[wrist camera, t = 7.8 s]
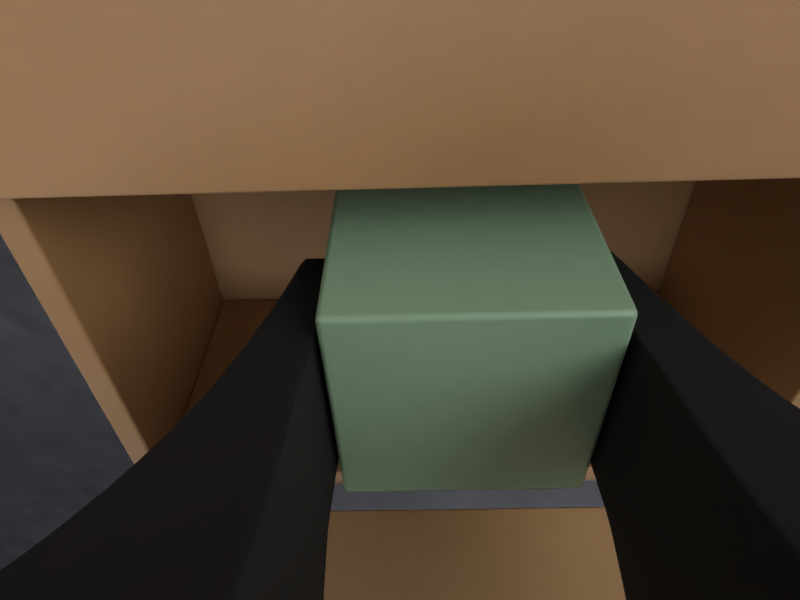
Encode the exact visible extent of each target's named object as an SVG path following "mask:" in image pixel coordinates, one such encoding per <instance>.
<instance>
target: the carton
mask: <svg viewBox="0 0 800 600" xmlns="http://www.w3.org/2000/svg"><path fill="white" fill-rule="evenodd" d="M556 184H579V185H580V187H581V189H582V191H583V194H584V196H585V198H586V200H587V202H588V205H589V207H590V209H591V211H592V213H593V215H594V218H595V220H596V222H597V224H598V226H599V228H600V231H601V233H602V235H603V237H604V239H605V241H606V244H607V246H608V248H609V250H610V251H611V252H613V253H614V254H615V255H616V256H617V257H618V258H619V259H620V260H622V261H623V262H624V263H625V264H626V265H627V266H628V267H629V268H630V269H631V270H632V271H633V272H634V273H635V274H637V275H638V276H639V277H640V278H641V279H642V280H643V281H644V282H645V283H646V284H647V285H648V286H649V287H650V288H651V289H653V290H654V291H655V292H656V293H657V294H658V295H659V296H660V297H661V298H662V299H663V300H664V301H665V302H667V303H668V304H669V305H670V306H671V307H672V308H673V309H674V310H675V311H676V312H678V313H679V314H680V315H681V316H682V317H683V318H684V319H685V320H687V321H688V322H689V323H690V324H691V325H692V326H693V327H695V328H696V329H697V330H698V331H699V332H700V333H701V334H703V335H704V336H705V337H706V338H707V339H709V340H710V341H711V342H712V343H713V344H715V345H716V346H717V347H718V348H719V349H721V350H722V351H723V352H724V353H726V354H727V355H728V356H729V357H731V358H732V359H733V360H734V361H736V362H737V363H738V364H739V365H741V366H742V367H743V368H745V369H746V370H747V371H748V372H750V373H751V374H752V375H753V376H755V377H756V378H757V379H759V380H760V381H761V382H763V383H764V384H765V385H767V386H768V387H769V388H771V389H772V390H774V391H775V392H776V393H778V394H779V395H781V396H782V397H783V398H785V399H786V400H788V401H789V402H791V403H792V404H794V405H795V406H797V407H798V408H799V409H800V0H0V234H1V236H2V238H3V239H4V241H5V243H6V245H7V246H8V248H9V250H10V251H11V253H12V255H13V257H14V258H15V260H16V262H17V263H18V265H19V267H20V269H21V270H22V272H23V274H24V276H25V277H26V279H27V281H28V282H29V284H30V286H31V288H32V289H33V291H34V293H35V294H36V296H37V298H38V300H39V301H40V303H41V305H42V306H43V308H44V310H45V312H46V313H47V315H48V317H49V319H50V320H51V322H52V324H53V325H54V327H55V329H56V331H57V332H58V334H59V336H60V337H61V339H62V341H63V343H64V344H65V346H66V348H67V349H68V351H69V353H70V355H71V356H72V358H73V360H74V362H75V363H76V365H77V367H78V368H79V370H80V372H81V374H82V375H83V377H84V379H85V380H86V382H87V384H88V386H89V387H90V389H91V391H92V392H93V394H94V396H95V398H96V399H97V401H98V403H99V405H100V406H101V408H102V410H103V411H104V413H105V415H106V417H107V418H108V420H109V422H110V423H111V425H112V427H113V429H114V430H115V432H116V434H117V435H118V437H119V439H120V441H121V442H122V444H123V446H124V448H125V449H126V451H127V453H128V454H129V456H130V458H131V460H132V461H133V463H134V464H135V463H136V462H137V461H139V460H140V459H141V458H142V457H143V456H144V455H145V454H146V453H147V452H148V451H149V450H150V449H151V448H152V447H153V446H154V445H156V444H157V443H158V442H159V441H160V440H161V439H162V438H163V437H164V436H165V435H166V434H167V433H168V432H169V431H170V430H171V429H172V428H173V427H174V426H175V425H176V424H177V423H178V422H179V421H180V420H181V419H182V418H183V417H184V416H185V415H186V414H187V413H188V412H189V411H190V410H191V409H192V408H193V407H194V405H195V404H196V403H197V402H198V401H199V400H200V399H201V398H202V397H203V396H204V394H205V393H206V392H207V391H208V390H209V389H210V388H211V387H212V386H213V384H214V383H215V382H216V381H217V380H218V378H219V377H220V376H221V375H222V374H223V372H224V371H225V370H226V369H227V367H228V366H229V365H230V364H231V363H232V361H233V360H234V359H235V358H236V356H237V355H238V354H239V353H240V352H241V350H242V349H243V348H244V347H245V345H246V344H247V343H248V341H249V340H250V339H251V337H252V336H253V335H254V333H255V332H256V330H257V329H258V328H259V326H260V325H261V324H262V322H263V321H264V319H265V318H266V317H267V315H268V314H269V313H270V311H271V310H272V308H273V307H274V305H275V304H276V302H277V301H278V299H279V298H280V296H281V295H282V293H283V292H284V290H285V289H286V287H287V285H288V284H289V282H290V281H291V279H292V278H293V276H294V274H295V273H296V271H297V269H298V268H299V266H300V264H301V263H302V262H303V261H304V260H305V259H314V258H325V255H326V248H327V242H328V236H329V230H330V224H331V217H332V211H333V205H334V199H335V192H336V190H364V189H403V188H441V187H480V186H518V185H556ZM584 480H596V478H595V475H594V472H593V469H592V466H591V463H590V464H589V467H588V470H587V473H586V476H585V479H584ZM335 484H343V480H342V475H341V469H340V463H339V460H338V466H337V472H336V478H335Z"/></svg>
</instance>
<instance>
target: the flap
mask: <svg viewBox="0 0 800 600" xmlns="http://www.w3.org/2000/svg"><path fill="white" fill-rule="evenodd" d="M324 600H626V598H625V592H624V587H623V583H622V578H621V573H620V569H619V564H618V560H617V555H616V550H615V546H614V541H613V537H612V532H611V528H610V524H609V520H608V517H607V513H606V510H605V507H575V508H509V509H442V510H375V511H330V519H329V527H328V538H327V553H326V569H325V584H324Z"/></svg>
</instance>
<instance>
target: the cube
mask: <svg viewBox="0 0 800 600" xmlns="http://www.w3.org/2000/svg"><path fill="white" fill-rule="evenodd" d="M637 315H638V312H637V309H636V307H635V304H634V302H633V300H632V298H631V296H630V294H629V291H628V289H627V287H626V285H625V283H624V281H623V278H622V276H621V274H620V272H619V270H618V268H617V265H616V263H615V261H614V259H613V257H612V254H611V252H610V250H609V248H608V246H607V244H606V241H605V239H604V237H603V235H602V233H601V231H600V228H599V226H598V224H597V222H596V220H595V218H594V215H593V213H592V211H591V209H590V207H589V205H588V202H587V200H586V198H585V196H584V194H583V191H582V189H581V187H580V185H579V184H556V185H518V186H480V187H441V188H403V189H364V190H336V192H335V199H334V205H333V211H332V217H331V224H330V230H329V236H328V242H327V248H326V255H325V261H324V267H323V273H322V280H321V286H320V292H319V298H318V304H317V311H316V317H315V324H316V330H317V336H318V341H319V347H320V353H321V359H322V364H323V370H324V376H325V382H326V388H327V393H328V399H329V405H330V411H331V417H332V422H333V428H334V434H335V440H336V446H337V451H338V457H339V463H340V469H341V475H342V480H343V486H344V489H345V490H346V491H348V492H375V491H436V490H496V489H556V488H579V487H582V485H583V482H584V479H585V476H586V473H587V470H588V467H589V464H590V461H591V458H592V455H593V452H594V448H595V445H596V442H597V439H598V436H599V433H600V430H601V427H602V424H603V421H604V418H605V415H606V411H607V408H608V405H609V402H610V399H611V396H612V393H613V390H614V387H615V384H616V381H617V378H618V374H619V371H620V368H621V365H622V362H623V359H624V356H625V353H626V350H627V347H628V344H629V341H630V338H631V334H632V331H633V328H634V325H635V322H636V319H637Z"/></svg>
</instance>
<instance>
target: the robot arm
mask: <svg viewBox="0 0 800 600" xmlns="http://www.w3.org/2000/svg"><path fill="white" fill-rule="evenodd" d="M610 252H611V251H610ZM611 254H612V257H613V259H614V261H615V263H616V265H617V268H618V270H619V272H620V274H621V276H622V278H623V281H624V283H625V285H626V287H627V289H628V291H629V294H630V296H631V298H632V300H633V302H634V304H635V307H636V309H637V312H638V315H637V319H636V322H635V325H634V328H633V331H632V334H631V338H630V341H629V344H628V347H627V350H626V353H625V356H624V359H623V362H622V365H621V368H620V371H619V374H618V378H617V381H616V384H615V387H614V390H613V393H612V396H611V399H610V402H609V405H608V408H607V411H606V415H605V418H604V421H603V424H602V427H601V430H600V433H599V436H598V439H597V442H596V445H595V448H594V452H593V455H592V458H591V461H590V463H591V466H592V469H593V472H594V475H595V478H596V481H597V484H598V487H599V490H600V493H601V496H602V499H603V502H604V506H605V510H606V513H607V517H608V520H609V524H610V528H611V532H612V537H613V541H614V546H615V550H616V555H617V560H618V564H619V569H620V573H621V578H622V583H623V587H624V592H625V598H626V600H800V409H799V408H798V407H797V406H795V405H794V404H792V403H791V402H789V401H788V400H786V399H785V398H783V397H782V396H781V395H779V394H778V393H776V392H775V391H774V390H772V389H771V388H769V387H768V386H767V385H765V384H764V383H763V382H761V381H760V380H759V379H757V378H756V377H755V376H753V375H752V374H751V373H750V372H748V371H747V370H746V369H745V368H743V367H742V366H741V365H739V364H738V363H737V362H736V361H734V360H733V359H732V358H731V357H729V356H728V355H727V354H726V353H724V352H723V351H722V350H721V349H719V348H718V347H717V346H716V345H715V344H713V343H712V342H711V341H710V340H709V339H707V338H706V337H705V336H704V335H703V334H701V333H700V332H699V331H698V330H697V329H696V328H695V327H693V326H692V325H691V324H690V323H689V322H688V321H687V320H685V319H684V318H683V317H682V316H681V315H680V314H679V313H678V312H676V311H675V310H674V309H673V308H672V307H671V306H670V305H669V304H668V303H667V302H665V301H664V300H663V299H662V298H661V297H660V296H659V295H658V294H657V293H656V292H655V291H654V290H653V289H651V288H650V287H649V286H648V285H647V284H646V283H645V282H644V281H643V280H642V279H641V278H640V277H639V276H638V275H637V274H635V273H634V272H633V271H632V270H631V269H630V268H629V267H628V266H627V265H626V264H625V263H624V262H623V261H622V260H620V259H619V258H618V257H617V256H616V255H615V254H614V253H613V252H611ZM324 261H325V258H314V259H305V260H304V261H303V262H302V263H301V264H300V266H299V268H298V269H297V271H296V273H295V274H294V276H293V278H292V279H291V281H290V282H289V284H288V285H287V287H286V289H285V290H284V292H283V293H282V295H281V296H280V298H279V299H278V301H277V302H276V304H275V305H274V307H273V308H272V310H271V311H270V313H269V314H268V315H267V317H266V318H265V319H264V321H263V322H262V324H261V325H260V326H259V328H258V329H257V330H256V332H255V333H254V335H253V336H252V337H251V339H250V340H249V341H248V343H247V344H246V345H245V347H244V348H243V349H242V350H241V352H240V353H239V354H238V355H237V356H236V358H235V359H234V360H233V361H232V363H231V364H230V365H229V366H228V367H227V369H226V370H225V371H224V372H223V374H222V375H221V376H220V377H219V378H218V380H217V381H216V382H215V383H214V384H213V386H212V387H211V388H210V389H209V390H208V391H207V392H206V393H205V394H204V396H203V397H202V398H201V399H200V400H199V401H198V402H197V403H196V404H195V405H194V407H193V408H192V409H191V410H190V411H189V412H188V413H187V414H186V415H185V416H184V417H183V418H182V419H181V420H180V421H179V422H178V423H177V424H176V425H175V426H174V427H173V428H172V429H171V430H170V431H169V432H168V433H167V434H166V435H165V436H164V437H163V438H162V439H161V440H160V441H159V442H158V443H157V444H156V445H154V446H153V447H152V448H151V449H150V450H149V451H148V452H147V453H146V454H145V455H144V456H143V457H142V458H141V459H140V460H139V461H137V462H136V463H135V464H134V465H133V466H132V467H131V468H130V469H129V470H128V471H126V472H125V473H124V474H123V475H122V476H121V477H120V478H119V479H117V480H116V481H115V482H114V483H113V484H112V485H110V486H109V487H108V488H107V489H106V490H105V491H103V492H102V493H101V494H100V495H98V496H97V497H96V498H95V499H93V500H92V501H91V502H90V503H88V504H87V505H86V506H85V507H83V508H82V509H81V510H80V511H78V512H77V513H76V514H75V515H73V516H72V517H71V518H70V519H69V520H67V521H66V522H65V523H64V524H62V525H61V526H60V527H59V528H57V529H56V530H55V531H54V532H52V533H51V534H50V535H48V536H47V537H46V538H44V539H43V540H42V541H41V542H39V543H38V544H37V545H35V546H34V547H33V548H31V549H30V550H29V551H27V552H26V553H24V554H23V555H22V556H20V557H19V558H18V559H16V560H15V561H13V562H12V563H11V564H9V565H8V566H6V567H5V568H3V569H2V570H0V600H324V584H325V569H326V553H327V538H328V527H329V519H330V510H331V503H332V497H333V491H334V484H335V478H336V472H337V466H338V460H339V457H338V451H337V446H336V440H335V434H334V428H333V422H332V417H331V411H330V405H329V399H328V393H327V388H326V382H325V376H324V370H323V364H322V359H321V353H320V347H319V341H318V336H317V330H316V324H315V317H316V311H317V304H318V298H319V292H320V286H321V280H322V273H323V267H324Z"/></svg>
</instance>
